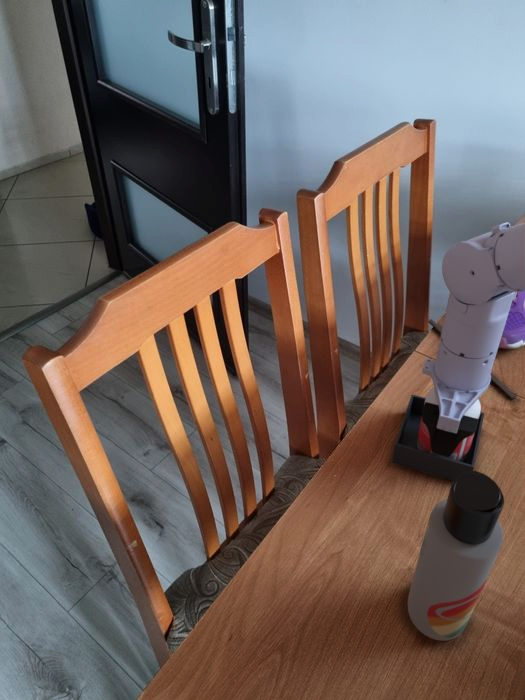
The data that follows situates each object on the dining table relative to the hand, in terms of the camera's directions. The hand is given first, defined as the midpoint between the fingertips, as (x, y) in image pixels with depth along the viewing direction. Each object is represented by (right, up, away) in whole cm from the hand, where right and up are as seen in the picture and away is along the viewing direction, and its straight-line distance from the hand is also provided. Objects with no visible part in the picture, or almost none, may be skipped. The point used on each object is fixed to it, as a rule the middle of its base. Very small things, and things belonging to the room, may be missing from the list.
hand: (446, 429), depth 66 cm
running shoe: (+16, +15, +23) cm, 32 cm away
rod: (+8, +8, +15) cm, 19 cm away
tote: (0, -3, +3) cm, 4 cm away
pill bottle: (0, -3, +2) cm, 4 cm away
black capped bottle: (-5, -16, -12) cm, 21 cm away
